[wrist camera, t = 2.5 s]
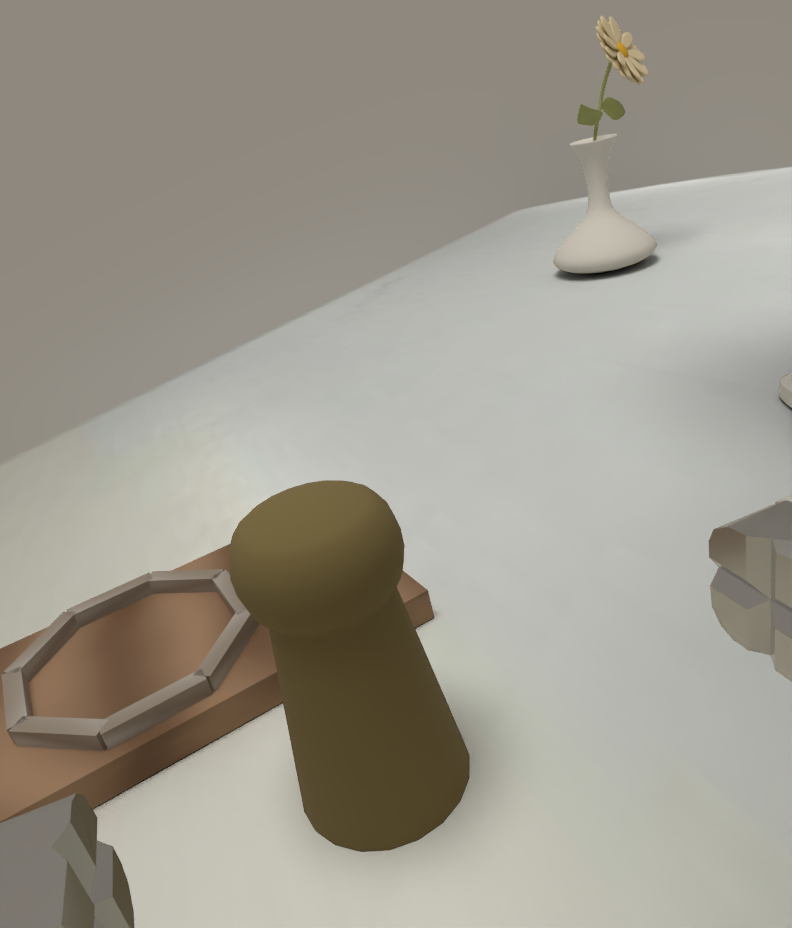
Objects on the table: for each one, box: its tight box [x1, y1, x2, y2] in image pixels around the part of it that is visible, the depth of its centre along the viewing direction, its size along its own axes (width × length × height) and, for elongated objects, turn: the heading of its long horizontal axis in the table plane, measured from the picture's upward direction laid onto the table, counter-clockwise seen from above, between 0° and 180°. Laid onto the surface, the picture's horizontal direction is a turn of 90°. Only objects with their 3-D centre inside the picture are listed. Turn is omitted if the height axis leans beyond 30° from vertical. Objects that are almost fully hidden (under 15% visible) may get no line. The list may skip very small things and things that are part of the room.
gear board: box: [0, 544, 434, 823], centre depth 33 cm, size 24×12×4 cm, turn 120°
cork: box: [229, 481, 469, 851], centre depth 23 cm, size 6×6×11 cm
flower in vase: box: [553, 16, 657, 273], centre depth 79 cm, size 13×11×25 cm
